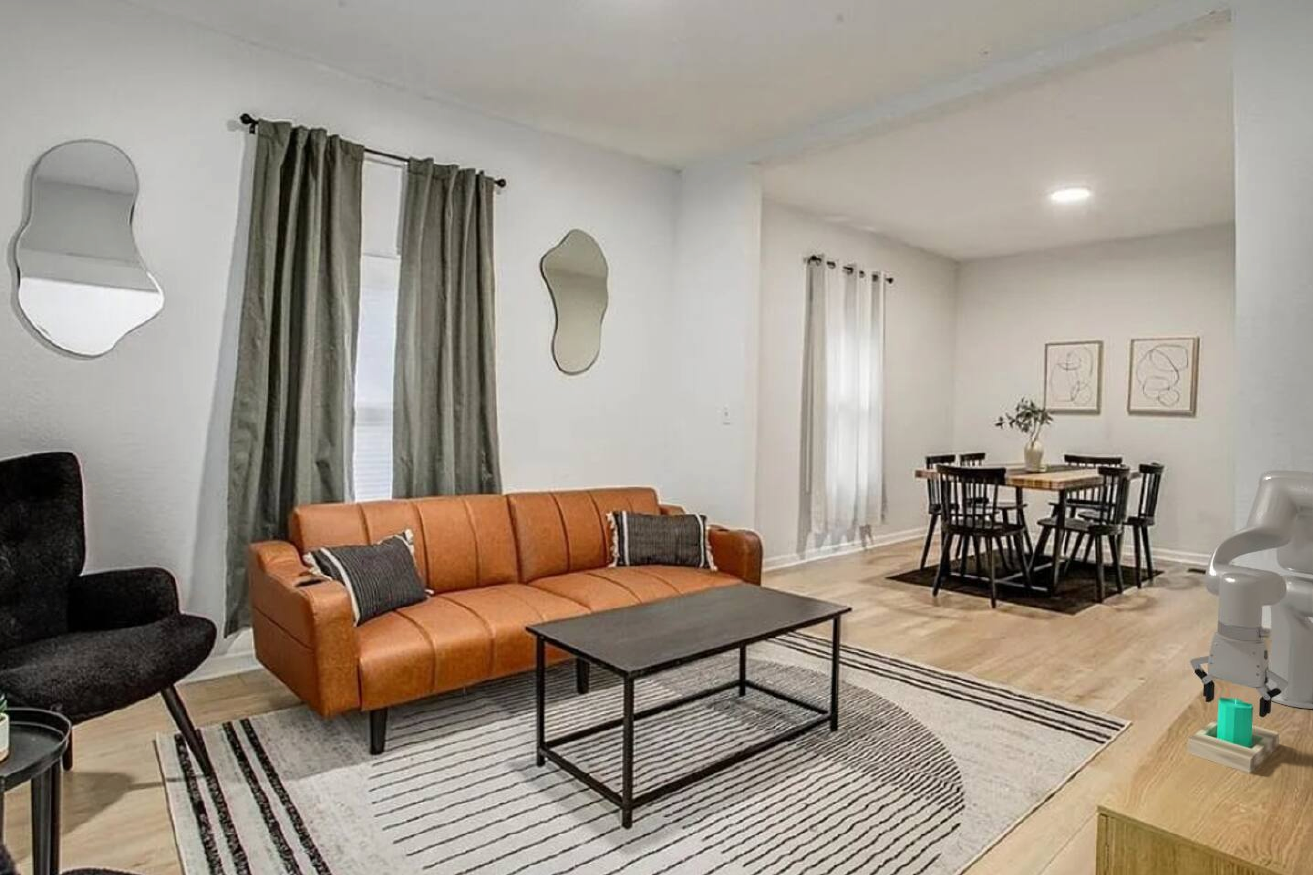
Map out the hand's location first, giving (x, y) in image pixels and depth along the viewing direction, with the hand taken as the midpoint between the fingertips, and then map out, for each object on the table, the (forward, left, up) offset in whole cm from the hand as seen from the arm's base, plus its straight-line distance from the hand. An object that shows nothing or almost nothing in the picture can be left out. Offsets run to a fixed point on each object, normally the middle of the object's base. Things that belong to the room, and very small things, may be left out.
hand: (1235, 707), depth 165 cm
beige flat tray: (0, 0, -9) cm, 9 cm away
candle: (0, 0, -9) cm, 9 cm away
